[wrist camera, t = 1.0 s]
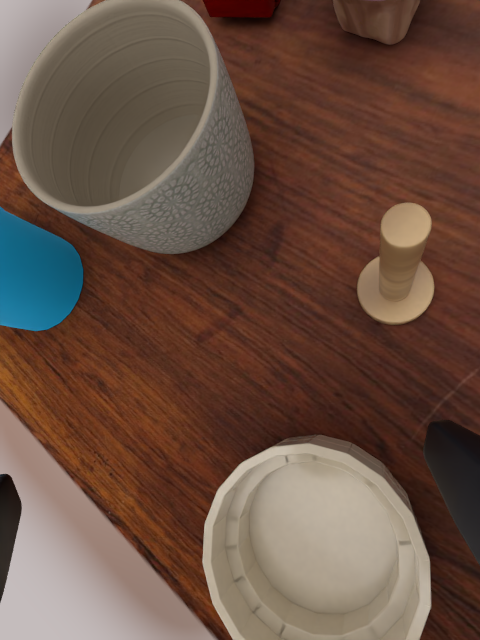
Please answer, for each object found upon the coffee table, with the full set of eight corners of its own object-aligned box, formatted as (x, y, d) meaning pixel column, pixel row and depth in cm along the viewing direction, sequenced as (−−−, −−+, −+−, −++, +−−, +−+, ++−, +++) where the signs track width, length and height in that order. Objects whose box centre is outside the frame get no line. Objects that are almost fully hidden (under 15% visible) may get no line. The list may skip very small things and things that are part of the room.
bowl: (465, 536, 22) (488, 575, 18) (330, 677, 23) (318, 750, 19) (311, 396, 26) (297, 398, 21) (200, 523, 27) (163, 551, 22)
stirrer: (449, 284, 25) (499, 209, 14) (399, 339, 25) (415, 305, 15) (388, 242, 26) (396, 149, 16) (342, 295, 26) (322, 237, 16)
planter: (304, 210, 28) (263, 108, 18) (160, 303, 31) (52, 260, 20) (225, 88, 32) (154, -54, 22) (102, 180, 34) (-14, 91, 24)
